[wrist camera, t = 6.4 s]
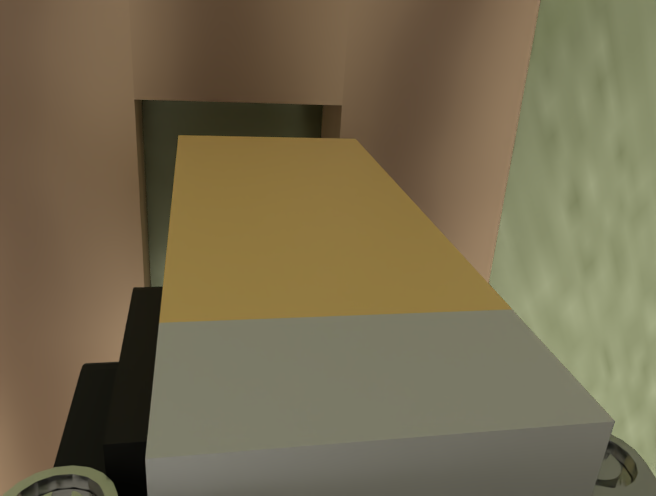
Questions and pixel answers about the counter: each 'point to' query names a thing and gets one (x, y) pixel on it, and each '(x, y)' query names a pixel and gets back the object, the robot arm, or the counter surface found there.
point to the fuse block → (344, 343)
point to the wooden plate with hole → (217, 86)
